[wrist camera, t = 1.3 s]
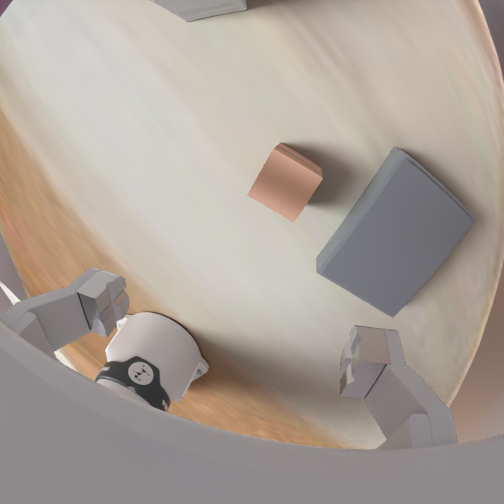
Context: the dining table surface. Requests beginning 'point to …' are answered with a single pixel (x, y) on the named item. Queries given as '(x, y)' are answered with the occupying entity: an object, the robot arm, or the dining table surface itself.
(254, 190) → the terracotta block
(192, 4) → the supplement box
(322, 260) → the plinth
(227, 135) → the dining table surface
